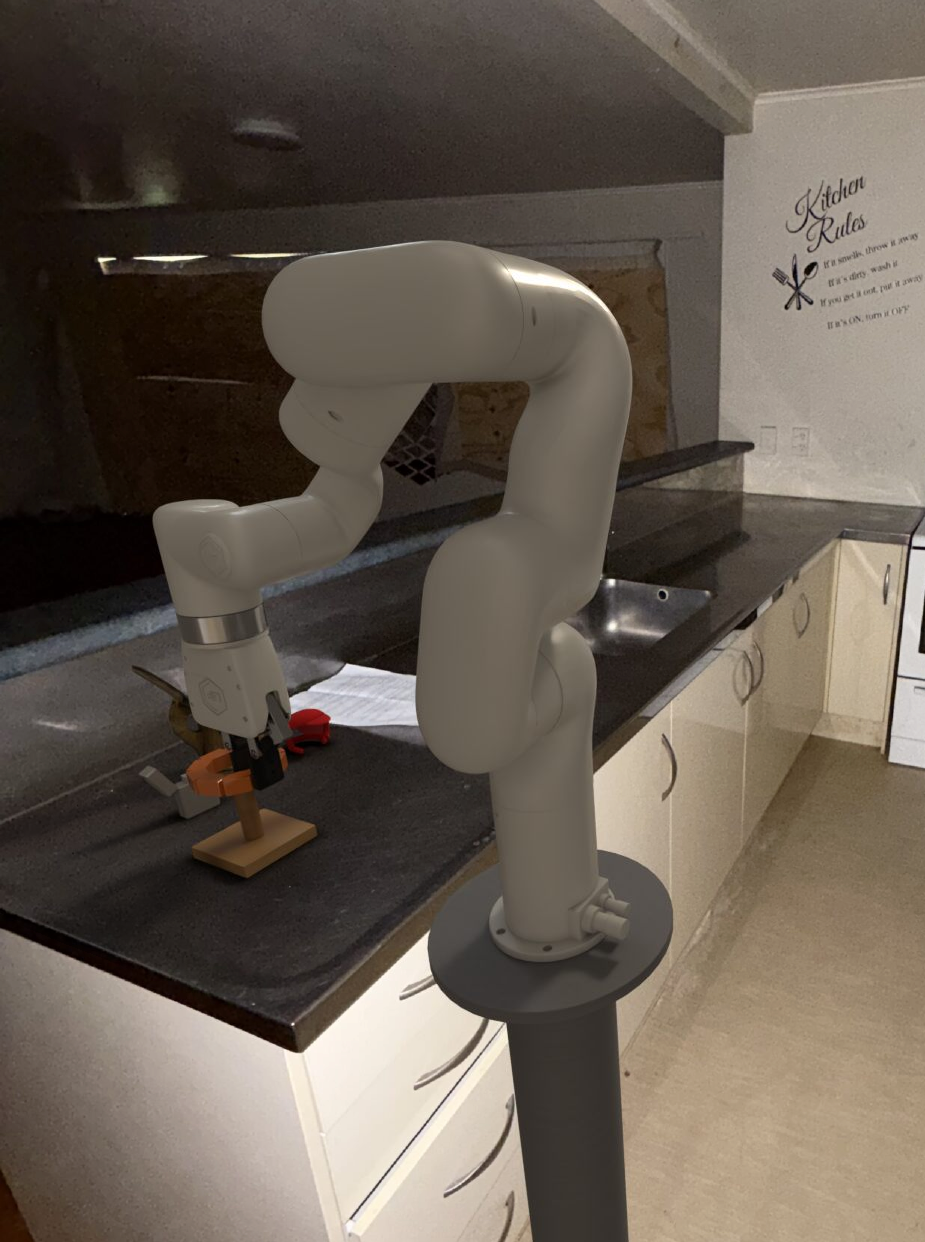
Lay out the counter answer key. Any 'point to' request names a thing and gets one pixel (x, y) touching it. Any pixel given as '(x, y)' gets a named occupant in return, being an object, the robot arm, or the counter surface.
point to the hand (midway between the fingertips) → (260, 780)
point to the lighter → (180, 793)
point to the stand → (253, 839)
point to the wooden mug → (179, 710)
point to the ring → (221, 775)
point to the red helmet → (308, 727)
